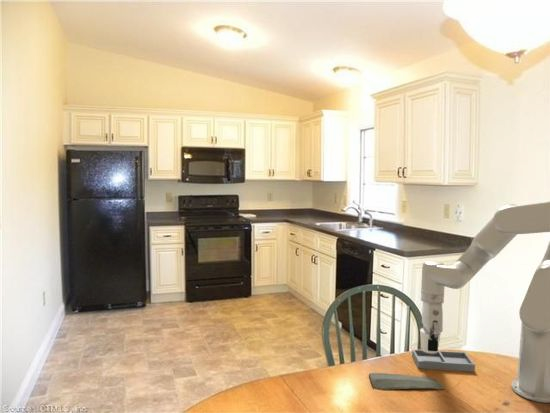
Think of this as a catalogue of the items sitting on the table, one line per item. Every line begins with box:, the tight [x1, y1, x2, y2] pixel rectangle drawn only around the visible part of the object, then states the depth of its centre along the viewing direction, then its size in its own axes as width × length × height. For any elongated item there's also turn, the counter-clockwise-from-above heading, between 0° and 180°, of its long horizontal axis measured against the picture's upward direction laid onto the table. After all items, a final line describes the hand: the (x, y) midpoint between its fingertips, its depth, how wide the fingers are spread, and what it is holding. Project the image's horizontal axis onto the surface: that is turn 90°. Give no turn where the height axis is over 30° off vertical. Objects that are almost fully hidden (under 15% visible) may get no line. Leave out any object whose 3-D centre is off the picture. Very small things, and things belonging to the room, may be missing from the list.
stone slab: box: [368, 372, 445, 391], centre depth 134 cm, size 22×3×10 cm
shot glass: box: [419, 327, 442, 354], centre depth 147 cm, size 7×7×7 cm
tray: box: [411, 348, 476, 373], centre depth 147 cm, size 10×19×2 cm, turn 84°
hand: (429, 345), depth 147 cm, fingers closed on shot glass, 6 cm apart
